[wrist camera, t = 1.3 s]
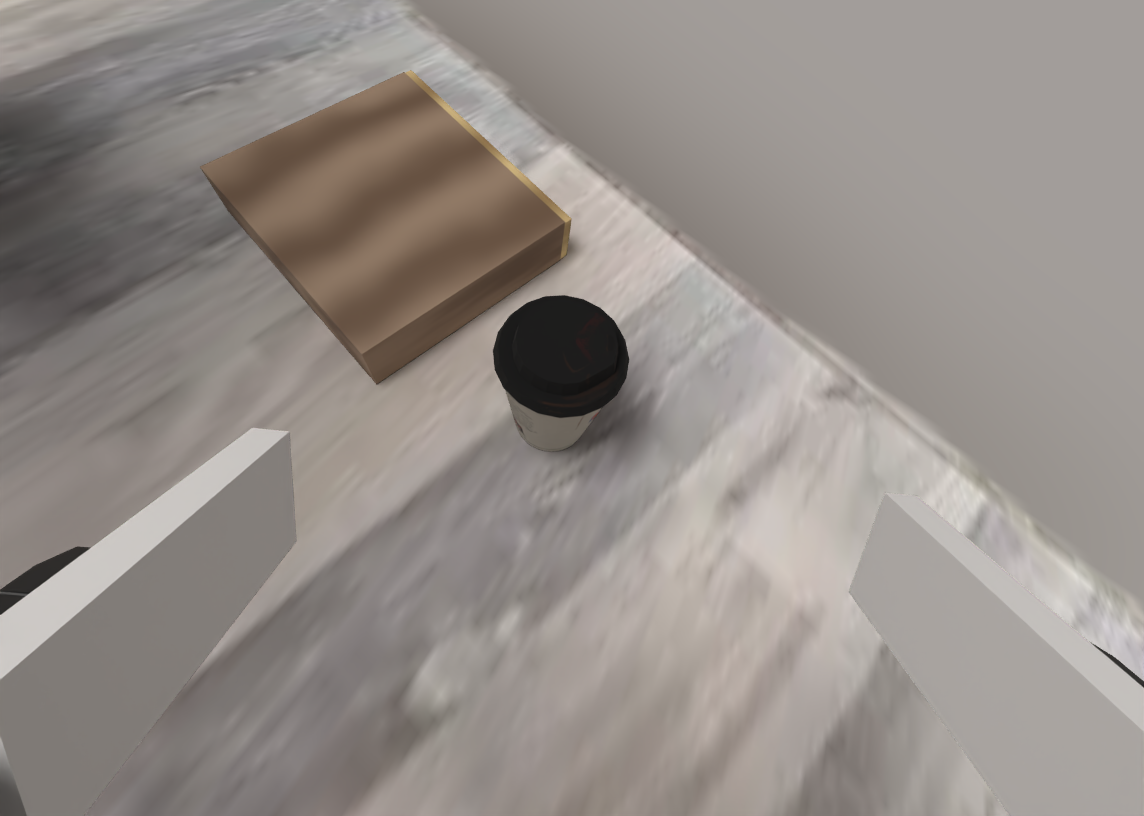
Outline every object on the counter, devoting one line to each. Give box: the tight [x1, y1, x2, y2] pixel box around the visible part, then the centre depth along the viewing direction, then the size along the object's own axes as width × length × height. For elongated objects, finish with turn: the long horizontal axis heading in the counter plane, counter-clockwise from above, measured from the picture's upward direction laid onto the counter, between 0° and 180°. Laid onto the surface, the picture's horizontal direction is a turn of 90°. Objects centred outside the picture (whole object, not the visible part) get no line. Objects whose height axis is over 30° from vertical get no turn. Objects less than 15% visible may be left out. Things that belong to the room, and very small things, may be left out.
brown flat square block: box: [200, 70, 571, 384], centre depth 39 cm, size 18×17×4 cm
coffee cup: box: [493, 295, 629, 452], centre depth 32 cm, size 7×7×10 cm
